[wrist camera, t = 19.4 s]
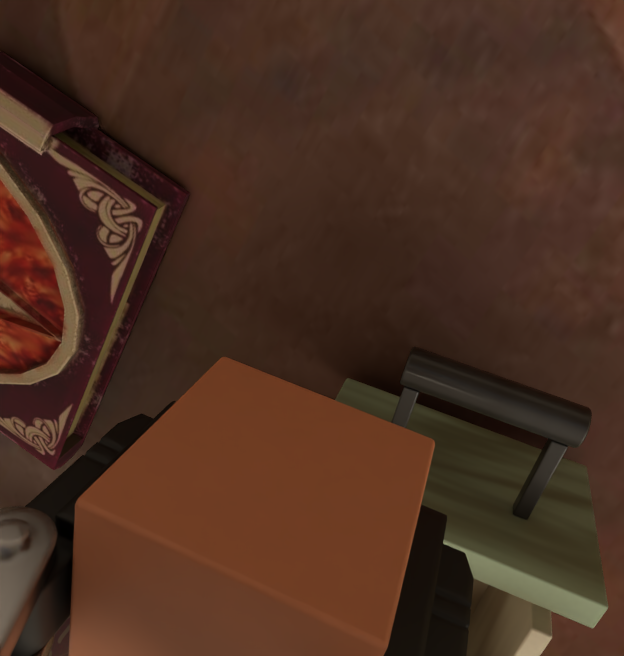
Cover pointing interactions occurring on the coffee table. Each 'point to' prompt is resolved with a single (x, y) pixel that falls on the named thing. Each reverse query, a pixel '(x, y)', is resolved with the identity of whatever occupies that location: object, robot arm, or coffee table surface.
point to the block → (248, 527)
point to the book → (68, 260)
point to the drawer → (504, 499)
